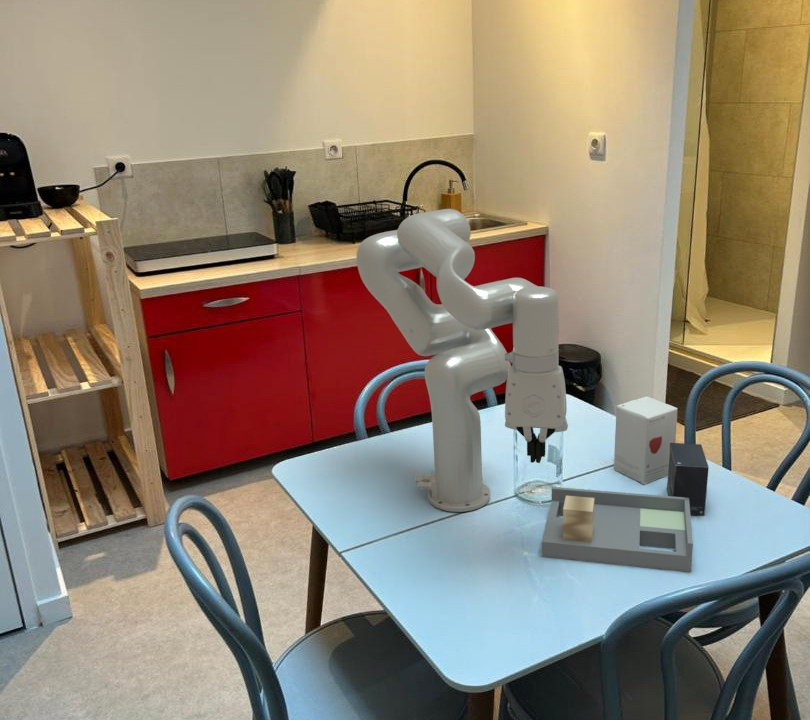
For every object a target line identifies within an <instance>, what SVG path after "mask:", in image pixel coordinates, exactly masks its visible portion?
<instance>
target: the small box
mask: <svg viewBox="0 0 810 720" xmlns="http://www.w3.org/2000/svg"><path fill="white" fill-rule="evenodd" d="M708 478H709V465H708V461H707V458H706V454H705V451H704V448H703V446H702V444H701V443H700V444H698V443H684V442H683V443H681V442H675V443H670V455H669V469H668V475H667V482H666V493H667V496H673V497H685V498H689V504H690V516H705V511H706V503H707V502H706V500H707V491H708V490H707V489H708Z"/></svg>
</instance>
